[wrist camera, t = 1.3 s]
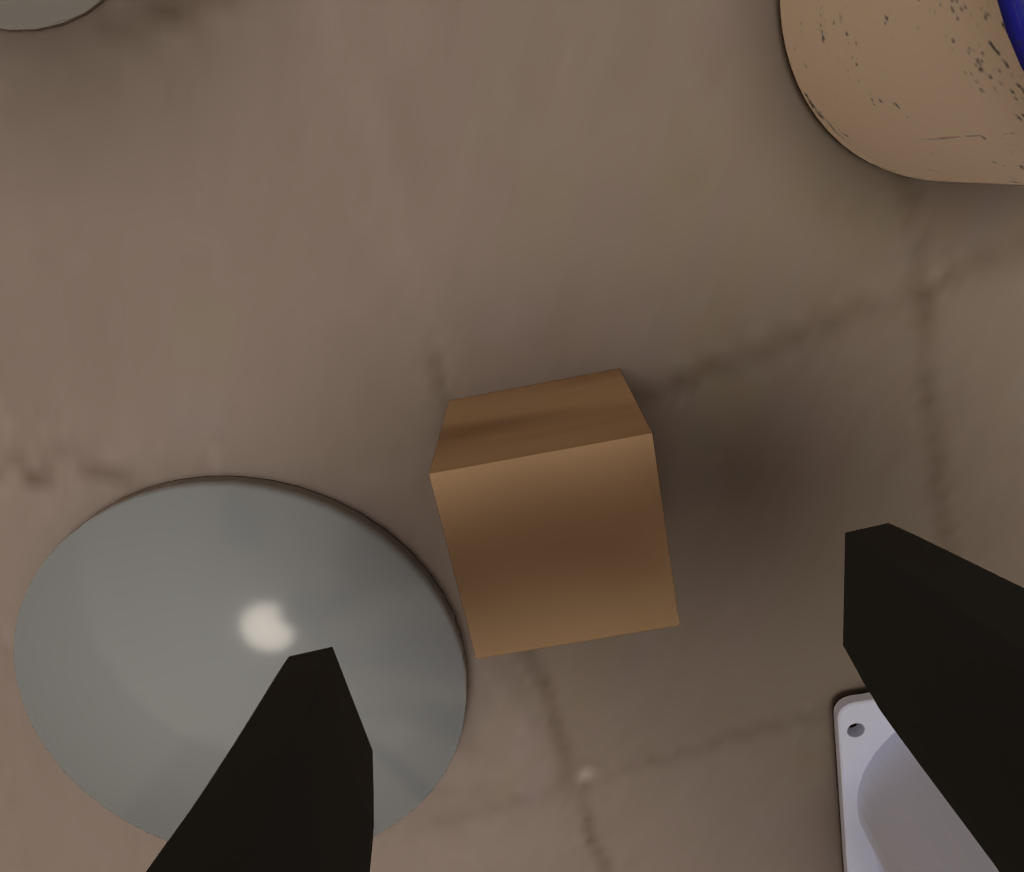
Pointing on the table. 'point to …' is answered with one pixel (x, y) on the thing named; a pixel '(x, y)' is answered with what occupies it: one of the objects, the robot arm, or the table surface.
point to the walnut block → (553, 514)
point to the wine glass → (42, 13)
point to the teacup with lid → (916, 82)
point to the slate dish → (230, 641)
